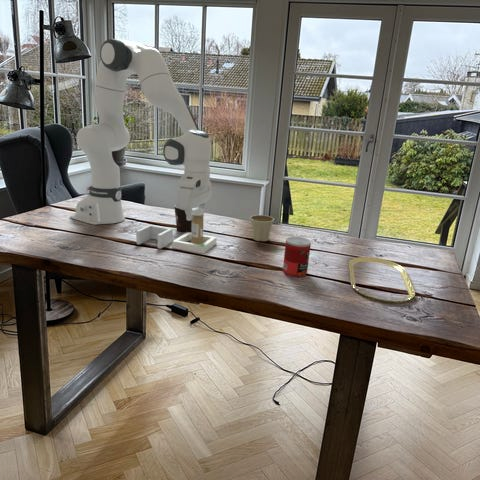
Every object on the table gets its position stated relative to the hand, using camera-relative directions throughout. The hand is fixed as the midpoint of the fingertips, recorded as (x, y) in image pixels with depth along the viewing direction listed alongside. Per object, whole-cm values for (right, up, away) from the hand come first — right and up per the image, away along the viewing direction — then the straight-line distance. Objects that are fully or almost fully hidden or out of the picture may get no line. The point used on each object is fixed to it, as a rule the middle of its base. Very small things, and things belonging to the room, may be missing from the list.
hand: (195, 216), depth 152 cm
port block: (-1, -10, +3) cm, 11 cm away
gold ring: (+61, -22, -15) cm, 66 cm away
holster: (-15, -9, +3) cm, 18 cm away
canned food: (+34, -19, -14) cm, 41 cm away
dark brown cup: (-6, -4, +22) cm, 23 cm away
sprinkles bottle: (0, -10, +5) cm, 11 cm away
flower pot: (+24, -8, +16) cm, 30 cm away
